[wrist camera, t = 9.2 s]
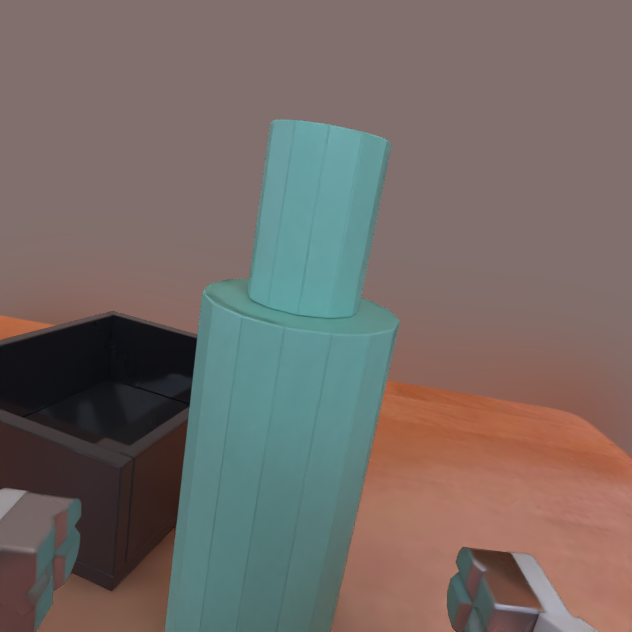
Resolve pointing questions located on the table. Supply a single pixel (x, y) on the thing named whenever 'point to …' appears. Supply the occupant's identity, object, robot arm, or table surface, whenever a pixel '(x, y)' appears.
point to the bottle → (285, 397)
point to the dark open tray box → (100, 430)
